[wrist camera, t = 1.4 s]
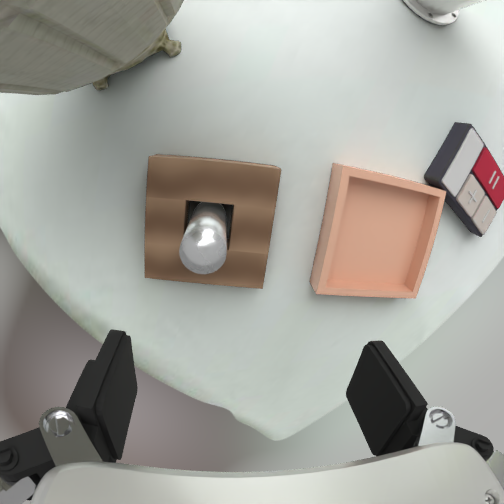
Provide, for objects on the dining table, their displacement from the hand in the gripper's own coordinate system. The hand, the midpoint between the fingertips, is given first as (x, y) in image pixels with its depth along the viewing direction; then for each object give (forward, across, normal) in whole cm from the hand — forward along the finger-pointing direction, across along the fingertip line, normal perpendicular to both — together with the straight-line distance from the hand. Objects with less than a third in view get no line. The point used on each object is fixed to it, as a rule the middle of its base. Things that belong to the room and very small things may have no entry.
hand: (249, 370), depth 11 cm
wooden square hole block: (+27, +2, +1) cm, 27 cm away
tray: (+27, -20, +1) cm, 33 cm away
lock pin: (+27, +2, +1) cm, 27 cm away
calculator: (+27, -35, -10) cm, 46 cm away
